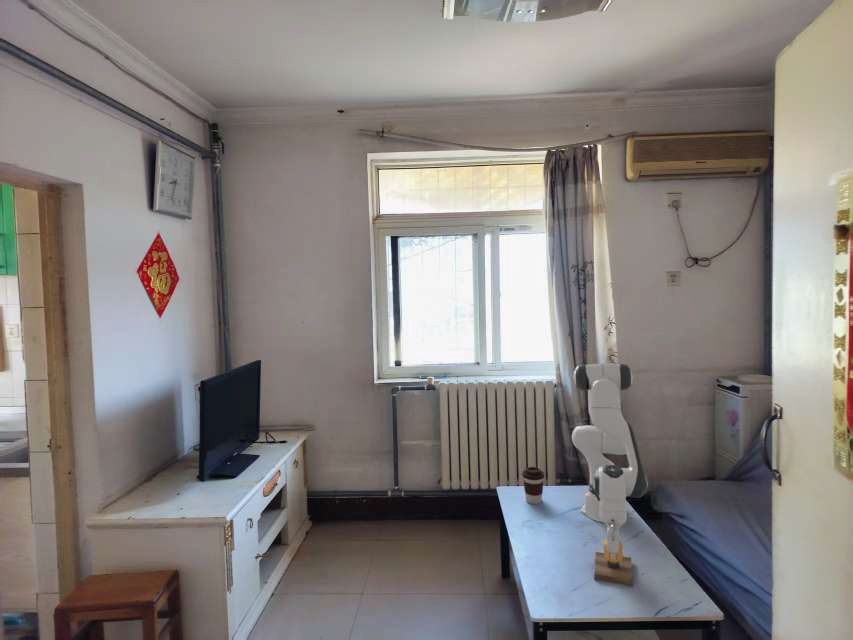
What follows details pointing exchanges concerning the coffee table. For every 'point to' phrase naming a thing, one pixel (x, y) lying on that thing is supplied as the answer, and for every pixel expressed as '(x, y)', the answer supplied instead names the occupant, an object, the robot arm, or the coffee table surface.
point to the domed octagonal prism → (618, 556)
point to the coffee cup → (533, 484)
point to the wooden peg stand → (613, 570)
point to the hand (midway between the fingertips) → (613, 551)
